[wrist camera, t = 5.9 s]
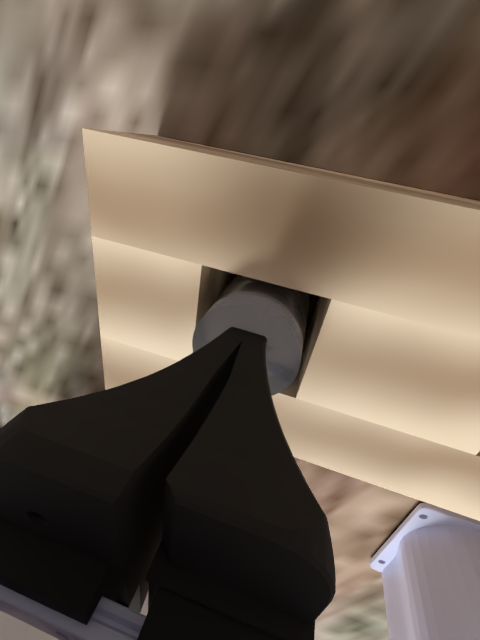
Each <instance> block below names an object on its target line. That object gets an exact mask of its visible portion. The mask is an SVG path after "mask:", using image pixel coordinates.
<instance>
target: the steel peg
mask: <svg viewBox="0 0 480 640" xmlns="http://www.w3.org/2000/svg"><path fill="white" fill-rule="evenodd" d="M308 312H309V295H308V293H306V292H302V291H298V290H295V289H291V288H287V287H283V286H280V285H276V284H272V283H268V282H264V281H261V280H257V279H253V278H249V277H245V276H242V275H238V274H237V275H236V277H235V278H234V279H233V280H232V282H231V283H230V284H229V285H228V287H227V288H226V289H225V290H224V292H223V293H222V294H221V295H220V296H219V298H218V299H217V300H216V301H215V303H214V304H213V305H212V306H211V308H210V309H209V310H208V311H207V313H206V314H205V315H204V316H203V318H202V319H201V320H200V321H199V323H198V324H197V326H196V328H195V331H194V334H193V339H192V347H193V352H195V351H197V350H198V349H200V348H201V347H203V346H204V345H206V344H207V343H209V342H210V341H212V340H213V339H215V338H216V337H218V336H219V335H220V334H222V333H223V332H224V331H226V330H227V329H228V328H230V327H235V328H239V329H242V330H246V331H249V332H252V333H256V334H259V335H263V336H265V337H266V338H267V343H266V367H267V375H268V381H269V386H270V391H271V396H273V395H275V394H278V393H280V392H281V391H283V390H285V389H286V388H287V387H288V386H289V385H290V384H291V383H292V382H293V381H294V379H295V378H296V376H297V373H298V371H299V367H300V361H301V355H302V349H303V343H304V337H305V330H306V324H307V318H308Z"/></svg>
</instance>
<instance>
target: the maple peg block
mask: <svg viewBox="0 0 480 640" xmlns="http://www.w3.org/2000/svg"><path fill="white" fill-rule="evenodd" d="M82 131H83V143H84V154H85V165H86V177H87V188H88V199H89V211H90V222H91V234H92V245H93V256H94V268H95V279H96V291H97V302H98V313H99V325H100V336H101V347H102V359H103V370H104V382H105V390H107V389H110V388H114V387H117V386H120V385H123V384H126V383H129V382H131V381H134V380H137V379H140V378H143V377H145V376H148V375H150V374H153V373H155V372H157V371H159V370H162V369H164V368H166V367H168V366H170V365H172V364H174V363H176V362H177V361H179V360H181V359H183V358H185V357H186V356H188V355H190V354H192V353H193V347H192V339H193V334H194V331H195V328H196V326H197V324H198V323H199V321H200V320H201V319H202V318H203V316H204V315H205V314H206V313H207V311H208V310H209V309H210V308H211V306H212V305H213V304H214V303H215V301H216V300H217V299H218V298H219V296H220V295H221V294H222V293H223V292H224V290H225V289H226V288H227V287H228V285H229V284H230V281H231V275H232V273H234V274H238V275H242V276H245V277H249V278H253V279H257V280H261V281H264V282H268V283H272V284H276V285H280V286H283V287H287V288H291V289H295V290H298V291H302V292H306V293H310V294H314V295H317V296H319V299H318V302H317V305H316V307H315V310H314V313H313V316H312V319H311V322H310V325H309V328H308V331H307V334H306V337H305V338H304V343H303V349H302V355H301V361H300V367H299V371H298V373H297V376H296V378H295V379H294V381H293V382H292V383H291V384H290V385H289V386H288V387H287V388H286V389H285V390H283V391H281V392H280V393H278V394H275V395H273V396H272V399H273V403H274V407H275V410H276V413H277V417H278V420H279V422H280V425H281V428H282V431H283V433H284V436H285V438H286V440H287V443H288V445H289V447H290V450H291V452H292V454H293V456H294V457H296V458H299V459H301V460H304V461H307V462H310V463H313V464H316V465H319V466H322V467H325V468H327V469H330V470H333V471H336V472H339V473H342V474H345V475H348V476H351V477H353V478H356V479H359V480H362V481H365V482H368V483H371V484H374V485H377V486H380V487H382V488H385V489H388V490H391V491H394V492H397V493H400V494H403V495H406V496H408V497H411V498H414V499H417V500H420V501H423V502H426V503H429V504H432V505H434V506H437V507H440V508H443V509H446V510H449V511H452V512H455V513H458V514H460V515H463V516H466V517H469V518H472V519H475V520H478V521H480V201H477V200H472V199H467V198H462V197H457V196H452V195H447V194H442V193H437V192H432V191H427V190H422V189H418V188H413V187H408V186H403V185H398V184H393V183H388V182H383V181H378V180H373V179H368V178H363V177H358V176H353V175H348V174H343V173H338V172H334V171H329V170H324V169H319V168H314V167H309V166H304V165H299V164H294V163H289V162H284V161H279V160H274V159H269V158H264V157H259V156H254V155H249V154H245V153H240V152H235V151H230V150H225V149H220V148H215V147H210V146H205V145H200V144H195V143H190V142H185V141H180V140H175V139H170V138H165V137H161V136H154V135H144V134H134V133H125V132H115V131H105V130H95V129H85V128H82Z"/></svg>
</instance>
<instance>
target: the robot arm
mask: <svg viewBox="0 0 480 640" xmlns="http://www.w3.org/2000/svg"><path fill="white" fill-rule="evenodd" d="M266 343H267V338H266V337H265V336H263V335H259V334H256V333H252V332H249V331H246V330H242V329H239V328H235V327H230V328H228V329H227V330H226V331H224V332H223V333H222V334H220V335H219V336H218V337H216V338H215V339H213V340H212V341H210V342H209V343H207V344H206V345H204V346H203V347H201V348H200V349H198V350H197V351H195V352H193V353H192V354H190V355H188V356H186V357H185V358H183V359H181V360H179V361H177V362H176V363H174V364H172V365H170V366H168V367H166V368H164V369H162V370H159V371H157V372H155V373H153V374H150V375H148V376H145V377H143V378H140V379H137V380H134V381H131V382H129V383H126V384H123V385H120V386H117V387H114V388H110V389H107V390H103V391H100V392H96V393H92V394H88V395H85V396H80V397H76V398H72V399H67V400H62V401H57V402H51V403H46V404H41V405H36V406H30V407H27V408H26V409H25V410H23V411H22V412H21V413H19V414H18V415H17V416H16V417H14V418H13V419H12V420H11V421H9V422H8V423H7V424H6V425H5V426H3V427H2V428H1V429H0V611H2V612H4V613H6V614H8V615H10V616H12V617H15V618H17V619H19V620H21V621H23V622H25V623H27V624H29V625H31V626H33V627H35V628H37V629H39V630H41V631H43V632H45V633H47V634H49V635H51V636H53V637H55V638H57V639H60V640H314V630H315V620H316V618H317V617H318V616H319V615H320V614H321V613H322V612H323V610H324V609H325V608H326V607H327V606H328V605H329V603H330V602H331V601H332V599H333V597H334V594H335V580H336V579H335V566H334V556H333V549H332V543H331V537H330V531H329V526H328V522H327V517H326V515H325V514H324V512H323V511H322V509H321V507H320V505H319V504H318V502H317V500H316V499H315V497H314V495H313V493H312V492H311V490H310V488H309V486H308V484H307V483H306V481H305V479H304V477H303V475H302V473H301V471H300V469H299V467H298V465H297V463H296V461H295V459H294V456H293V454H292V452H291V450H290V447H289V445H288V443H287V440H286V438H285V436H284V433H283V431H282V428H281V425H280V422H279V420H278V417H277V413H276V410H275V407H274V403H273V399H272V396H271V391H270V386H269V381H268V375H267V367H266ZM369 562H370V567H371V568H372V569H374V570H376V571H379V572H382V579H383V588H384V597H385V606H386V615H387V623H388V632H389V640H480V521H478V520H475V519H472V518H469V517H466V516H463V515H460V514H458V513H455V512H452V511H449V510H446V509H443V508H440V507H437V506H434V505H432V504H429V503H420V504H419V505H417V507H416V508H415V509H414V510H413V511H412V512H411V513H410V515H409V516H408V517H407V518H406V519H405V520H404V522H403V523H402V524H401V525H400V526H399V527H398V528H397V530H396V531H395V532H394V533H393V534H392V535H391V536H390V538H389V539H388V540H387V541H386V542H385V543H384V544H383V546H382V547H381V548H380V549H379V550H378V551H377V553H376V554H375V555H374V556H373V557H372V558H371V559H370V561H369ZM147 593H148V613H147V616H145V615H143V614H140V612H141V610H142V607H143V604H144V601H145V599H146V596H147Z"/></svg>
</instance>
